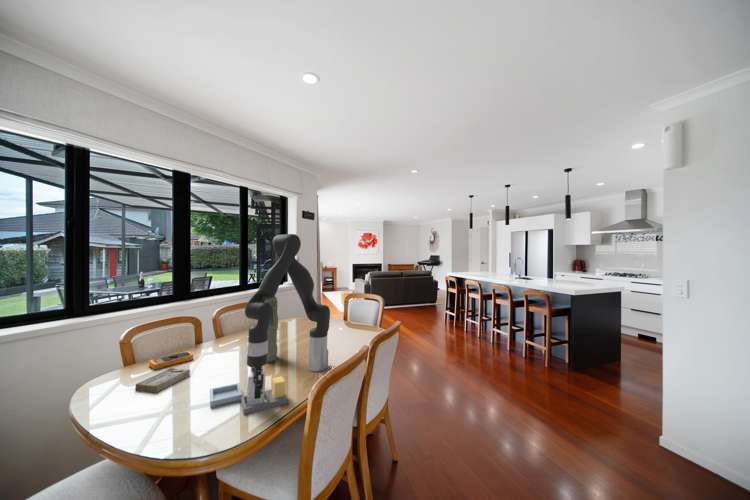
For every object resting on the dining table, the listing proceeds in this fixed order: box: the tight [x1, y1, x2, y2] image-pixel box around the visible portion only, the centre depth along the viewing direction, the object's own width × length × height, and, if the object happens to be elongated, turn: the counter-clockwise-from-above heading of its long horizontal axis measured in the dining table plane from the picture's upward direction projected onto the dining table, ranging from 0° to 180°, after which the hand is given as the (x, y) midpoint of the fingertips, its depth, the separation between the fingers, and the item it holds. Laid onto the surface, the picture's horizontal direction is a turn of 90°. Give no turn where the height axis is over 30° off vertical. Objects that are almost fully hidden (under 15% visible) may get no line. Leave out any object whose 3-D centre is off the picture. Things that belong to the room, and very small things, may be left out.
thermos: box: [265, 295, 279, 363], centre depth 155 cm, size 9×12×35 cm
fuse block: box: [240, 376, 288, 415], centre depth 112 cm, size 16×10×8 cm, turn 122°
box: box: [134, 367, 191, 394], centre depth 125 cm, size 11×17×3 cm, turn 170°
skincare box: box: [246, 371, 267, 407], centre depth 110 cm, size 6×4×12 cm
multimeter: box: [148, 351, 194, 371], centre depth 146 cm, size 9×18×3 cm, turn 144°
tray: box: [209, 382, 243, 409], centre depth 114 cm, size 11×11×2 cm
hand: (256, 394), depth 110 cm, fingers open, 5 cm apart
